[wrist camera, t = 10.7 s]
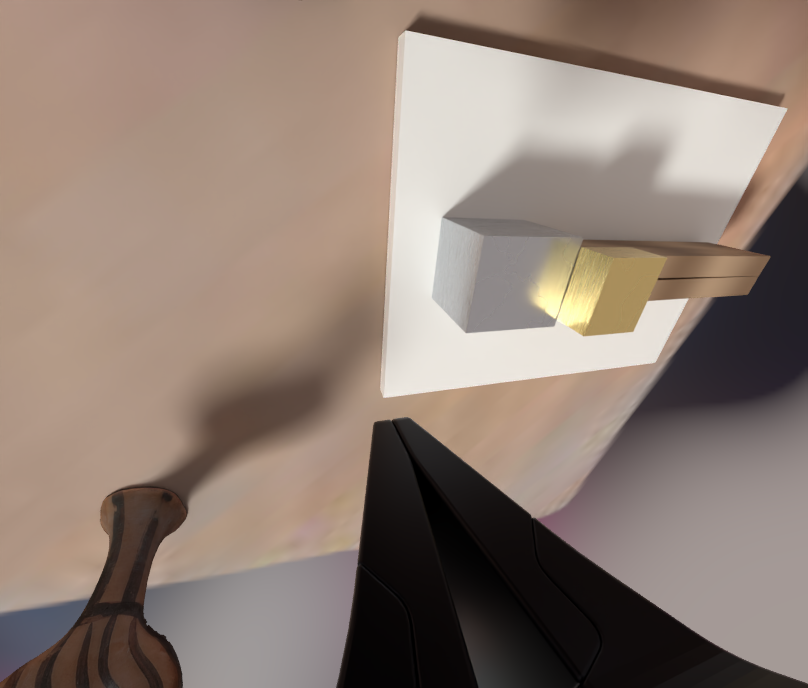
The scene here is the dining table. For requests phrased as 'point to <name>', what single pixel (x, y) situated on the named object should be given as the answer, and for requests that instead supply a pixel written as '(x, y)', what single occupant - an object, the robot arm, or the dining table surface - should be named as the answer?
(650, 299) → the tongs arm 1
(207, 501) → the dining table surface
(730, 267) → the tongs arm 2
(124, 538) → the figurine
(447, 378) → the board
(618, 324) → the block
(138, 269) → the dining table surface
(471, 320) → the hinge block
